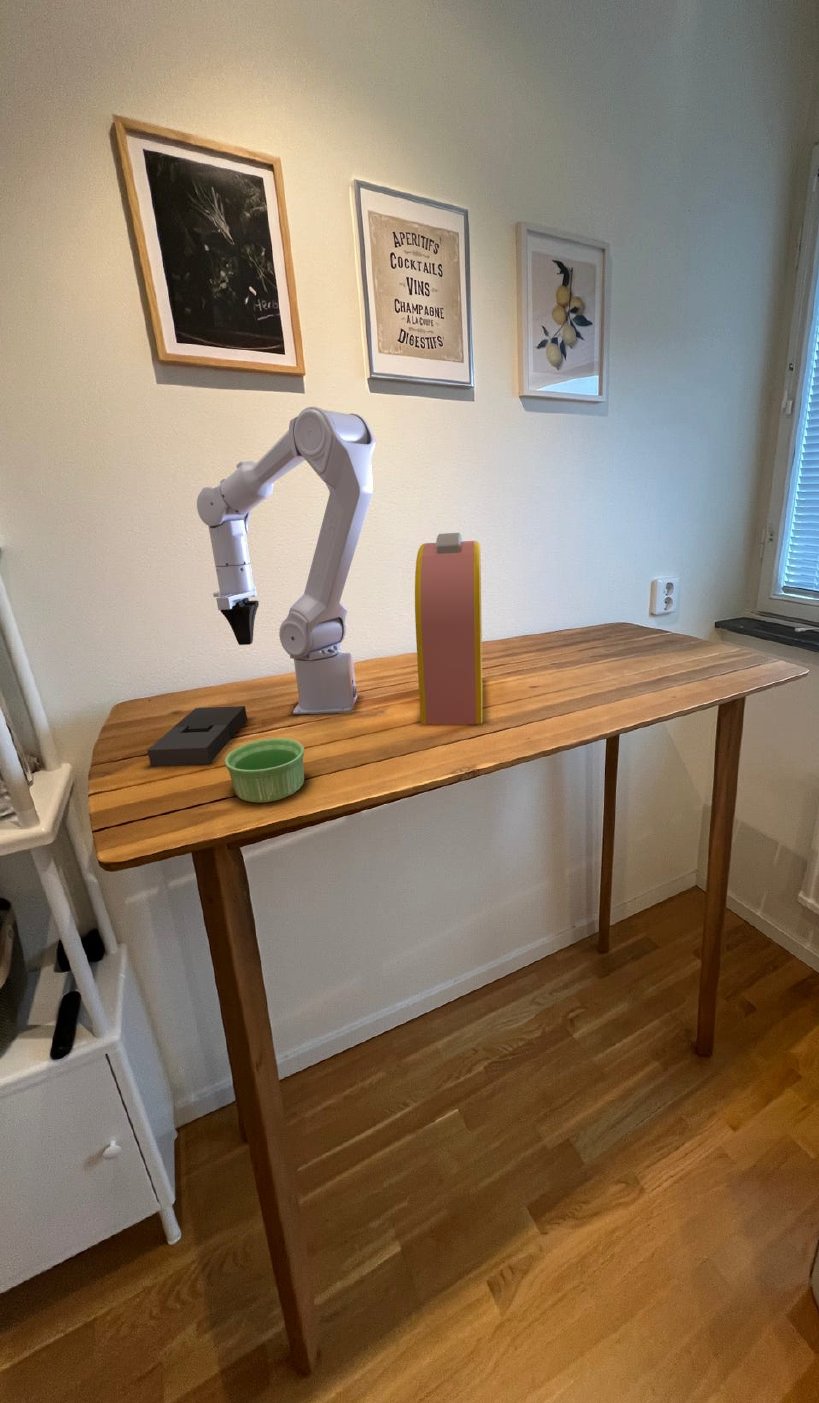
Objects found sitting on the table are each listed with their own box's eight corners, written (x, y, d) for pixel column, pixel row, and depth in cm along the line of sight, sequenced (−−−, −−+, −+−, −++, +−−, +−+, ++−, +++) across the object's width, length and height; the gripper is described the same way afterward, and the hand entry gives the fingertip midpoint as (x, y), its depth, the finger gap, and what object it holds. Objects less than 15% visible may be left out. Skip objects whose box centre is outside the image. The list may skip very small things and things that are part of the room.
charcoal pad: (230, 739, 80) (227, 724, 79) (209, 764, 72) (206, 747, 71) (176, 742, 80) (173, 726, 79) (150, 766, 72) (146, 749, 72)
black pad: (247, 719, 87) (245, 705, 86) (227, 742, 79) (225, 727, 78) (198, 721, 88) (195, 707, 87) (173, 744, 79) (170, 729, 78)
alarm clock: (482, 724, 80) (479, 535, 71) (420, 724, 81) (410, 538, 72) (482, 680, 99) (480, 528, 91) (432, 681, 101) (425, 531, 92)
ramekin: (269, 764, 71) (264, 733, 69) (324, 778, 66) (319, 744, 65) (214, 796, 64) (207, 761, 62) (271, 813, 59) (265, 776, 58)
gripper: (224, 562, 99) (237, 635, 103) (192, 570, 85) (207, 655, 90) (263, 559, 99) (273, 634, 103) (236, 568, 85) (250, 653, 89)
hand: (245, 643), depth 96 cm, fingers closed
